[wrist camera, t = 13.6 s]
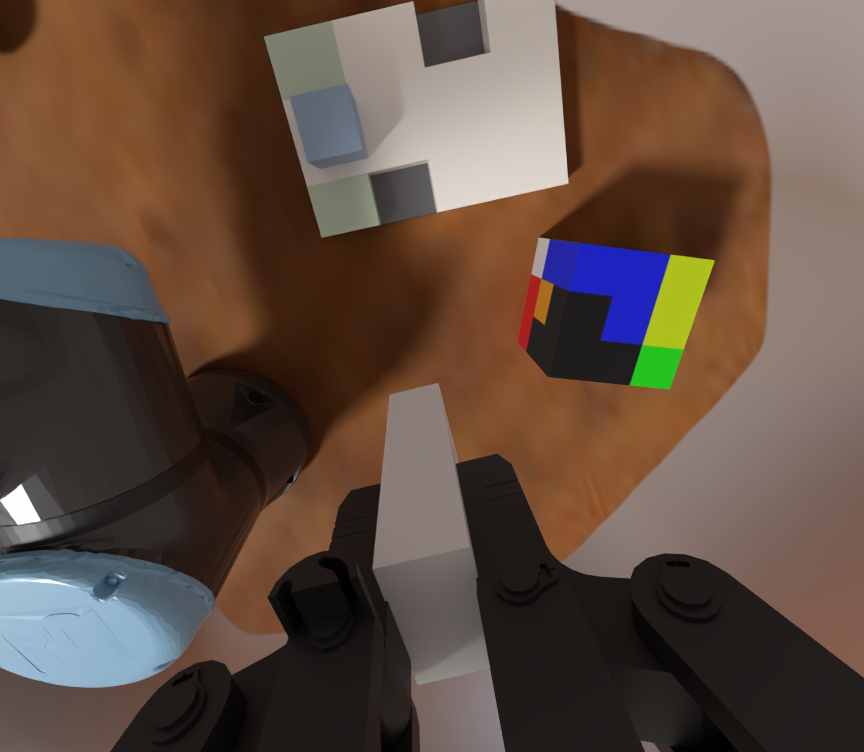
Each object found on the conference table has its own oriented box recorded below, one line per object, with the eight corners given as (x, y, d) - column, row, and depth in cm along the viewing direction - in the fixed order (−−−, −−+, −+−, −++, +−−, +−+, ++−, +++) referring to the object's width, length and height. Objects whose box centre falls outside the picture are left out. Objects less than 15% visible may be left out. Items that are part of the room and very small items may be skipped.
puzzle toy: (538, 237, 38) (579, 242, 28) (641, 250, 38) (714, 260, 29) (517, 341, 41) (548, 376, 32) (612, 351, 42) (669, 389, 32)
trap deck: (327, 236, 37) (321, 237, 34) (274, 50, 32) (263, 36, 29) (558, 185, 36) (568, 183, 34) (541, -13, 31) (552, -32, 29)
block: (319, 169, 32) (307, 162, 29) (304, 111, 31) (289, 96, 27) (368, 158, 32) (362, 149, 29) (355, 99, 31) (347, 83, 27)
